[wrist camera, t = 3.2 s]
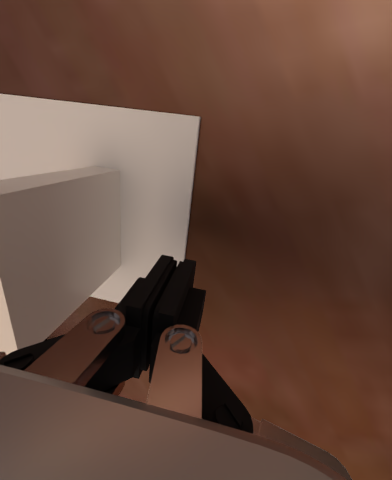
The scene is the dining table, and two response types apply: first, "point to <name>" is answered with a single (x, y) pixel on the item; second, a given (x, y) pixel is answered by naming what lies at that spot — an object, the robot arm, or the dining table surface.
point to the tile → (54, 248)
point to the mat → (116, 157)
